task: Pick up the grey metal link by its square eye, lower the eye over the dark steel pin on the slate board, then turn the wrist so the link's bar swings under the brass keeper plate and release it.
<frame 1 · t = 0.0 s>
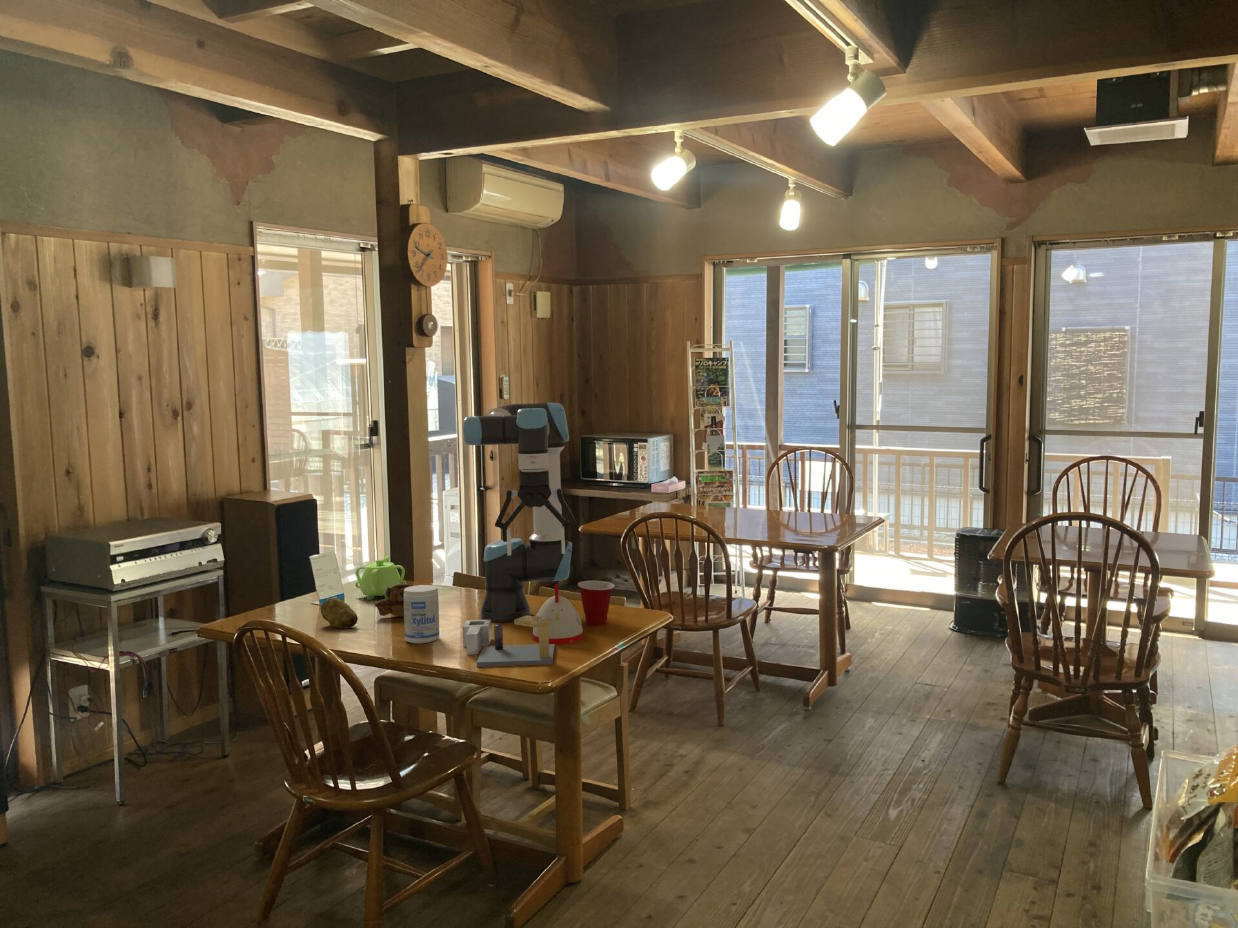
hand: (536, 553, 242), 28 cm above the table, tool pointing down, fingers open, 13 cm apart
plastic cup: (597, 623, 282), on the table
supplement tub: (422, 640, 268), on the table
wooden carving: (403, 616, 296), on the table
board: (516, 657, 249), on the table
potato: (339, 626, 286), on the table
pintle: (499, 653, 253), resting on board
link: (472, 654, 252), on the table
keeper: (544, 661, 245), resting on board
green lidded pot: (382, 596, 326), on the table
kitchen timer: (558, 638, 267), on the table
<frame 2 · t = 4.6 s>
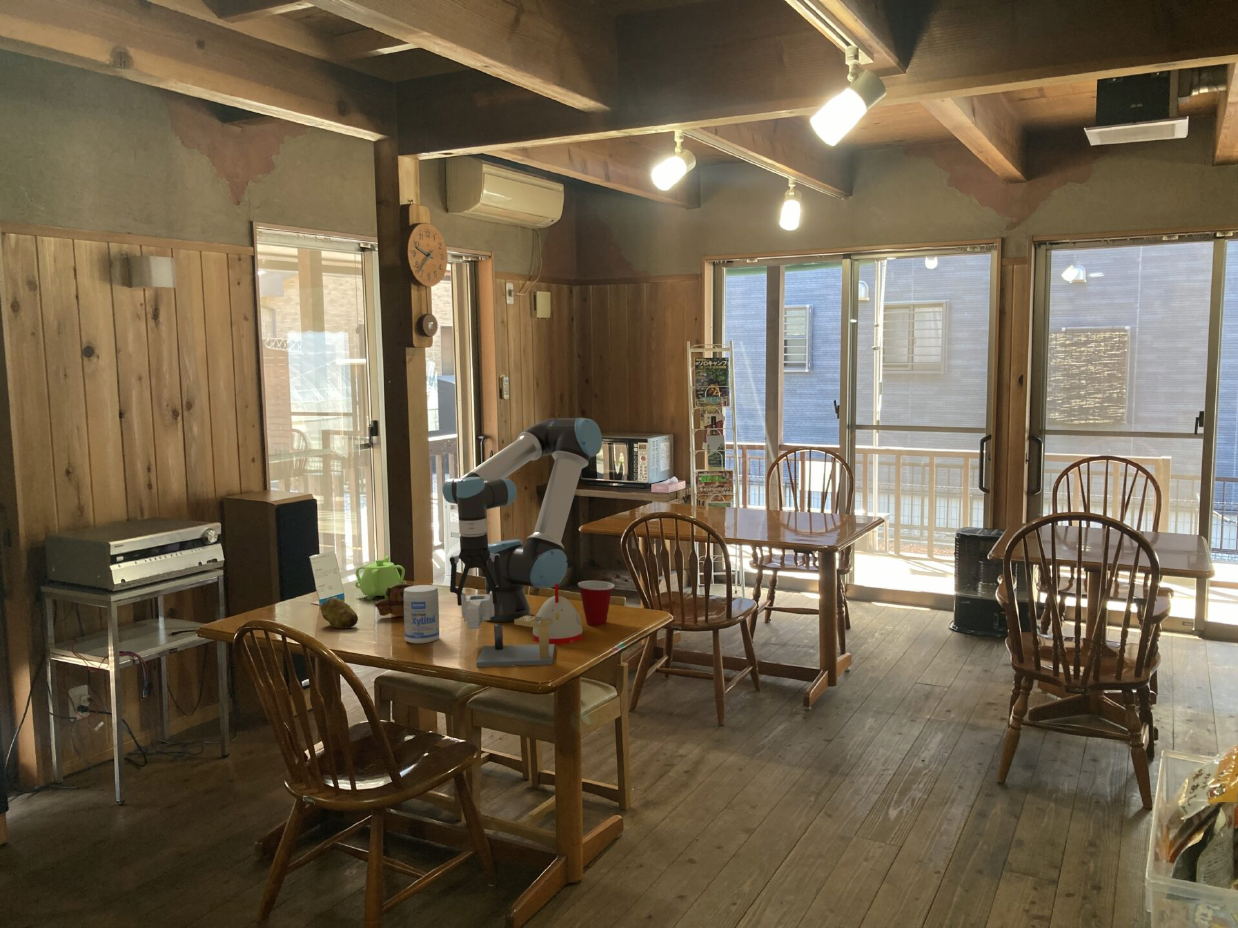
hand: (478, 615, 264), 7 cm above the table, tool pointing down, fingers closed on link, 7 cm apart
link: (473, 628, 252), point 7 cm above the table, touching gripper
everything else where it was.
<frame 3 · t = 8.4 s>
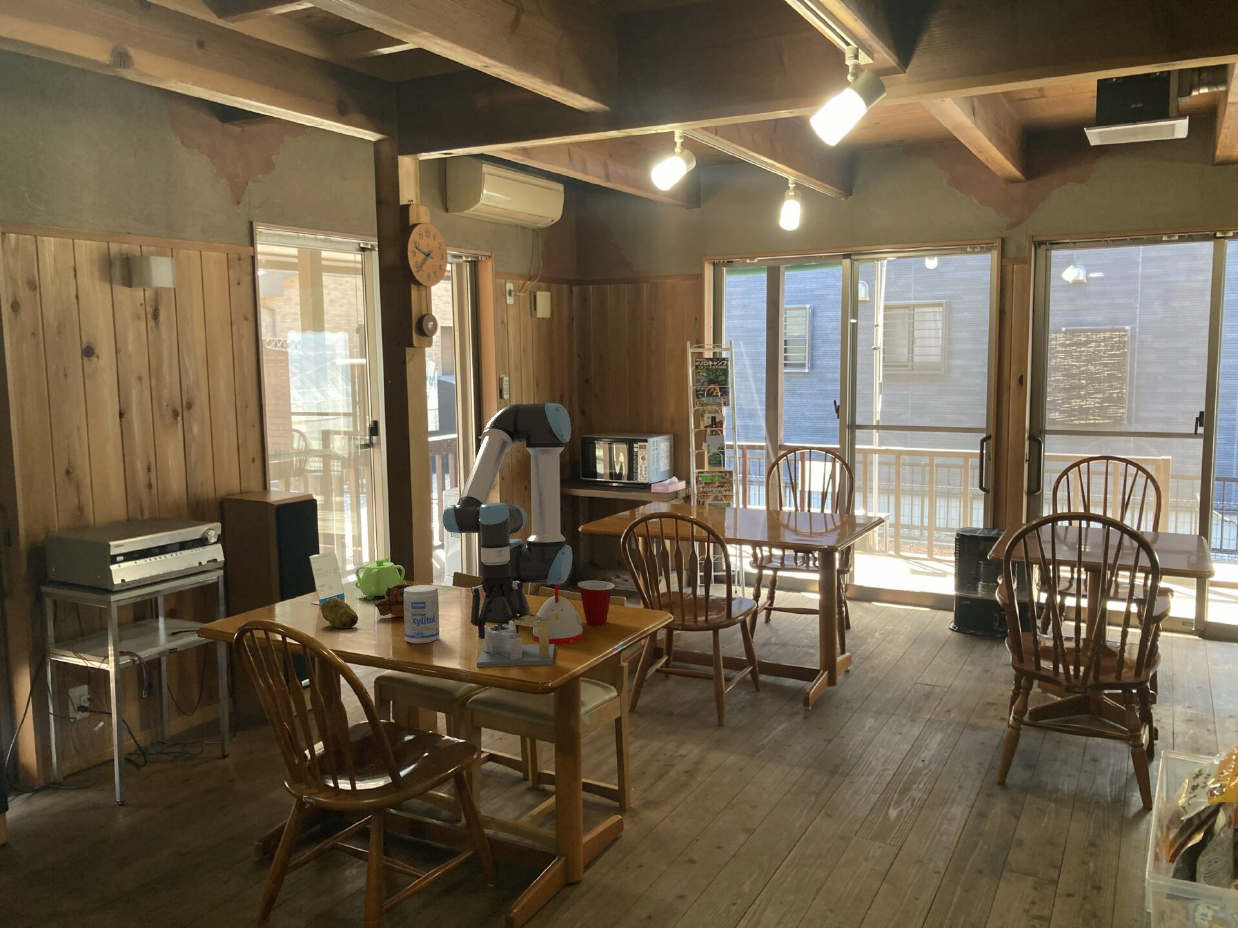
hand: (499, 647, 253), 1 cm above the table, tool pointing down, fingers closed on board, link, 7 cm apart
link: (516, 659, 243), point 1 cm above the table, touching gripper
everything else where it was.
when the fingers open (1 cm above the table, at t = 9.8 s): link stays where it is, resting on board.
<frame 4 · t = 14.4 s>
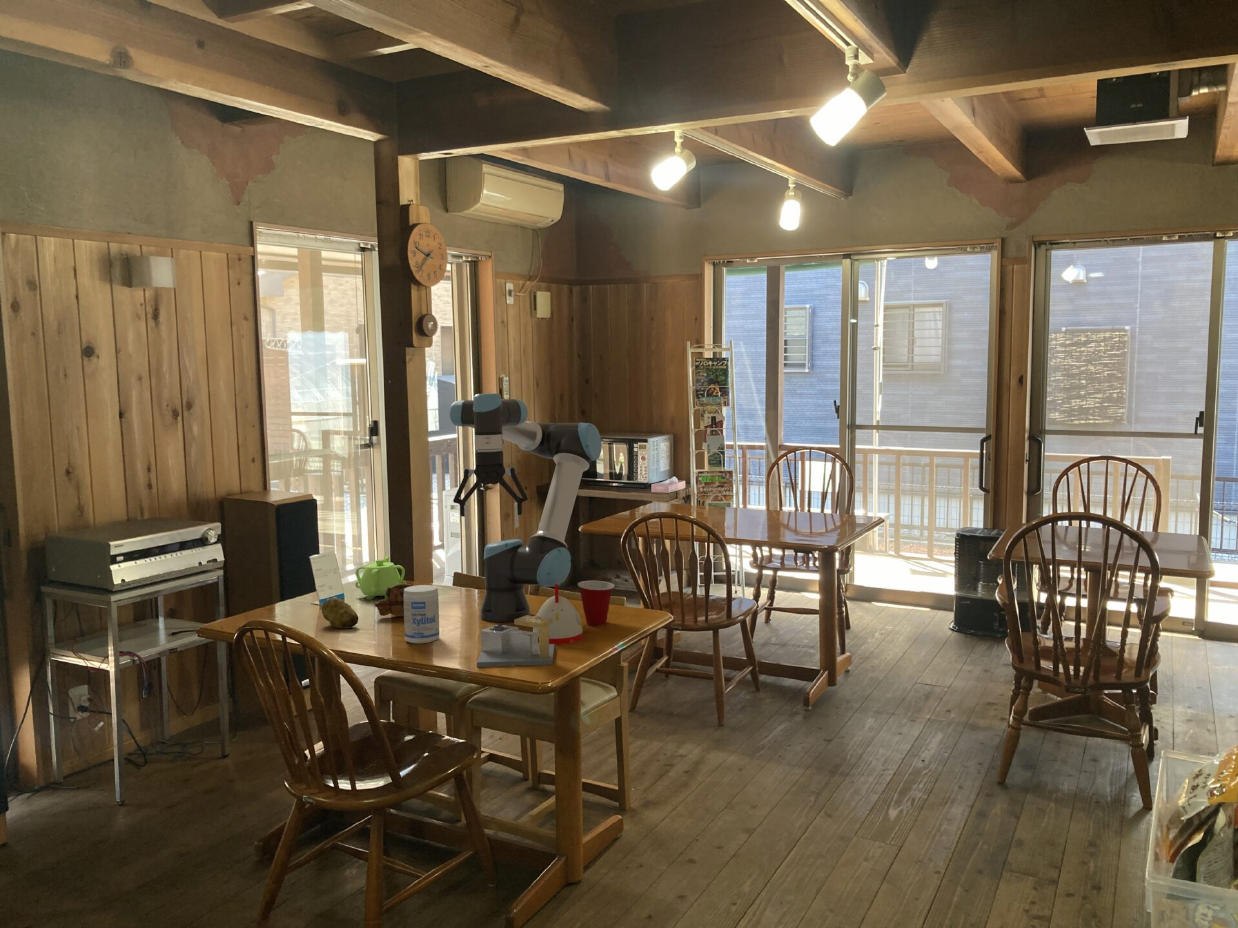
hand: (492, 527, 262), 32 cm above the table, tool pointing down, fingers open, 13 cm apart
link: (534, 655, 246), point 1 cm above the table, touching board
everything else where it was.
at the end: link 0.6 cm from the target spot, point 1.2 cm above the table; link tilted 0°; the gripper is holding nothing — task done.
